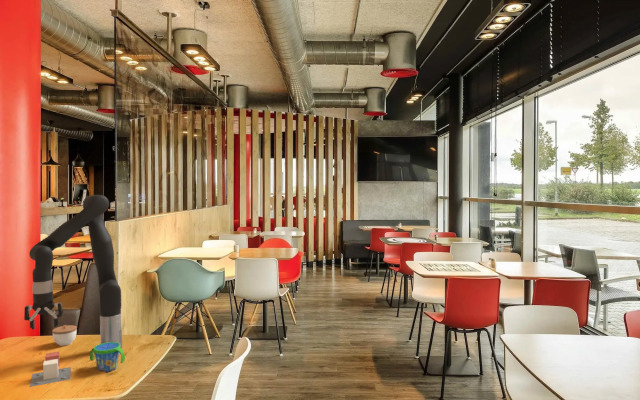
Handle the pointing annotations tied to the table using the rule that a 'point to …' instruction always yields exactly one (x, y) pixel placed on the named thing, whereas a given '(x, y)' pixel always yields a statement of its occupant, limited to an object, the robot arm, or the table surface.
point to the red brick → (52, 356)
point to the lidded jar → (64, 334)
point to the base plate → (39, 379)
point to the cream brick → (50, 369)
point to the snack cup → (107, 355)
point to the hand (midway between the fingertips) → (44, 327)
